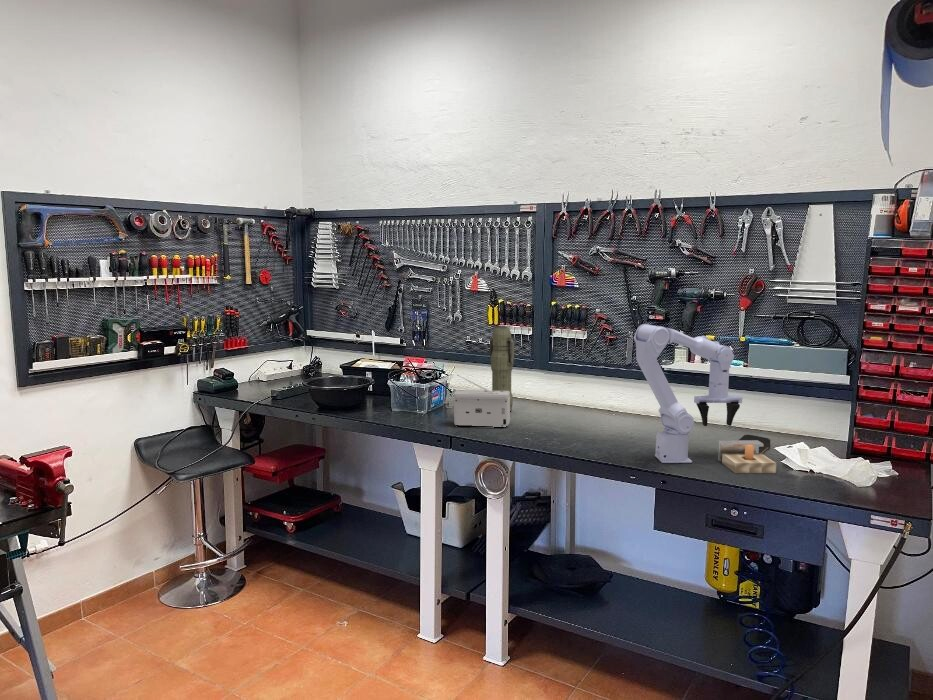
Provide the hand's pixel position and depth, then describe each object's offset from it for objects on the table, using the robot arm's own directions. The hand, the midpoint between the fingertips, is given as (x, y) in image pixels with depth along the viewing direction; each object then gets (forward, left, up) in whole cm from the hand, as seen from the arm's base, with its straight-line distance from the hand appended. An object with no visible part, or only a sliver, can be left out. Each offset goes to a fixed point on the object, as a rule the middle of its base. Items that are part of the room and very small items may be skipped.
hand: (716, 425), depth 218 cm
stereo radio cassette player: (-73, +41, -10) cm, 84 cm away
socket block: (+5, -13, -10) cm, 17 cm away
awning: (+5, -7, -10) cm, 13 cm away
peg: (+5, -13, -10) cm, 17 cm away
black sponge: (+14, +5, -10) cm, 18 cm away
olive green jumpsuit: (-64, +66, -10) cm, 92 cm away
